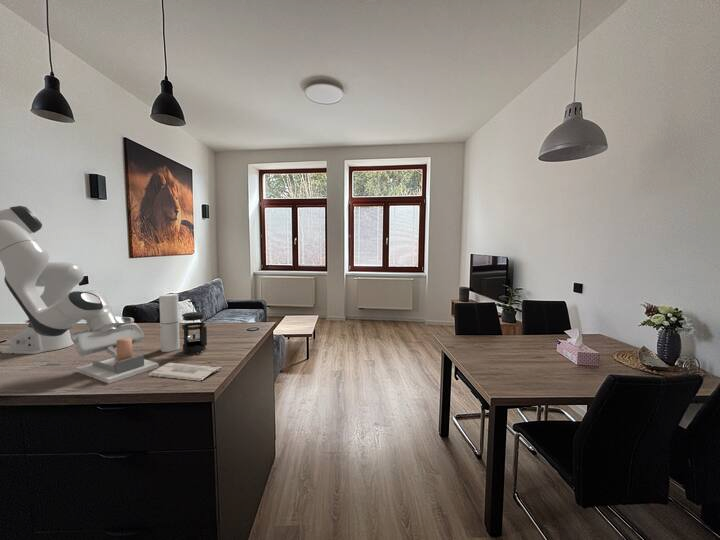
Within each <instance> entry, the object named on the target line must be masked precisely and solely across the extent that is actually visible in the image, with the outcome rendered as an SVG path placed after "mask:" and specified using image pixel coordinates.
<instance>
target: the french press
mask: <svg viewBox="0 0 720 540" xmlns="http://www.w3.org/2000/svg"><path fill="white" fill-rule="evenodd" d="M187 302H188V303H192V304H191V305H192V312H186V313H183V314H181V316H182V320H183V321H185V322H186V321H187V322H188V323H183V324H182V326H181V329H182V330H183V338H182V339H183V343H182V352H181V353H182V354H183V353H184V354H183V355H194V354H193V353H197V352H201V351H203V350H205V349H206V350H207V347H206V346H207V345H208V343H207V342H208V339H207V338H208V336H207V335H208V334H207V333H208V331H207V329H208V328H207V325H206V323H205V322H199V320H203V319H204V318H205V314H206V313H205V312H203V311H195V305H196V304H195V303H197V302H198V303H199V300H198V299H190V300H188V301H187ZM189 321H190V322H189ZM191 321H193V322H191ZM197 321H198V322H197ZM196 330H199V334H197V333H196V334H195V332H193V334H191V335H190V334H189V331H196ZM206 350H205V351H206ZM201 353H202V352H201ZM197 354H198V353H197Z"/></svg>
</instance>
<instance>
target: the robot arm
mask: <svg viewBox="0 0 720 540" xmlns="http://www.w3.org/2000/svg"><path fill="white" fill-rule="evenodd" d="M42 228H43V223H42V220H41V218H40V216H39V215H38V214H37V213H36V212H35V211H34V210H32V209H29V208H28V207H27V206H23V205H17V206H10V207H9V208H6V209H0V262H1V265H2V266H3V269H4V274H5V275H4V279H3V280H4V283H5V286H7V289H8V290H9V292H10V293H11V294H12V296H13V298H14V299H15V300H16V301H17V302H16V303H18V305H19V306H20V308H21V309H22V310H23V312H24V313H25V315H26V316H27V318H28V320H26V321H25V324H27V327H26V328H24V329H23V330H21V331H20V332H18V333H16V334H15V335H14V336H12V337H11V339H10V342H9V346H8V347H7V348H4V349H2V350H1V354H12V353H14V354H17V355H19V354H20V355H21V354H22V355H24V354H25V355H35V354H41V353H45V352H50V351H56V350H60V349H64V348H65V349H66V348H68V347H71V346H74V347H75V351H76V353H77V355H79V356H80V357H85V356H88V355H92V354H96V353H100V352H104V351H106V353H107V354H110V355H111V356H112V358H117V350H114V349H117V342H116V341H117V340H119V339H123V338H132V345H133V344H137V343H141V342H142V340H144V337H145V333H144V332H143V329H142V328H141V327H140V326H139V325H138V324H137V323H135V319H134V318H133V317H129V316H127V317H126V316H117V315H116V314H115V313H114V312H113V311H112V310H113V309H112V306H111V304H110V302H109V301H108V300H107V298H106V297H105V296H104V294H102V293H101V292H100V291H97V290H86V291H82V290H81V291H78V290H75V291H72V290H73V289H74V288H75V287H76V286H77V285H79V284H80V283H82V281H83V279H84V276H85V272H84V270H83V268H82V266H80V265H79V264H76V263H75V264H74V263H70V262H49V260H50V258H49V257H50V256H49V253H48V251H47V249H46V248H45V247H44V245H42V244H41V243H40V241H38V239H36V237H34V236H33V235H32V233H33V234H35V233H37V232H38V231H40V230H41V229H42ZM37 287H39V288H41V287H44V290H43V292H42V294H40V295H39V293H38V292H37V289H36V288H37ZM82 320H83V321H85V322H86V327H87V330H83V331H76V332H74V333H73V334H71V332H70V329H71V328H72V327H73V326H75V325H76V324H78V323H79V322H81V321H82Z"/></svg>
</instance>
